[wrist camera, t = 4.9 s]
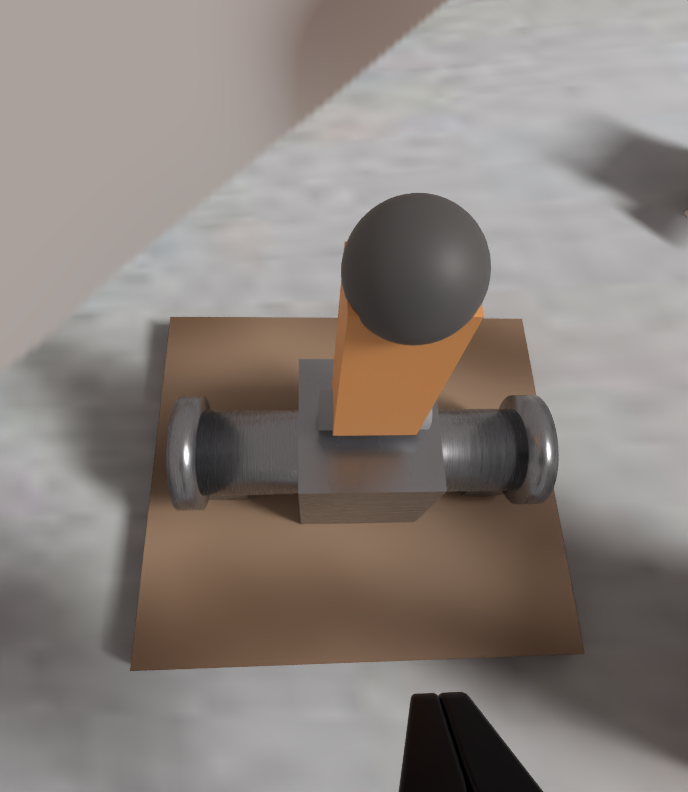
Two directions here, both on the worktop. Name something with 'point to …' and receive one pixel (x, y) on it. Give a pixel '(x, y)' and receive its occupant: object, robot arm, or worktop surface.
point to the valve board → (342, 534)
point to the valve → (358, 457)
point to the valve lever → (403, 314)
